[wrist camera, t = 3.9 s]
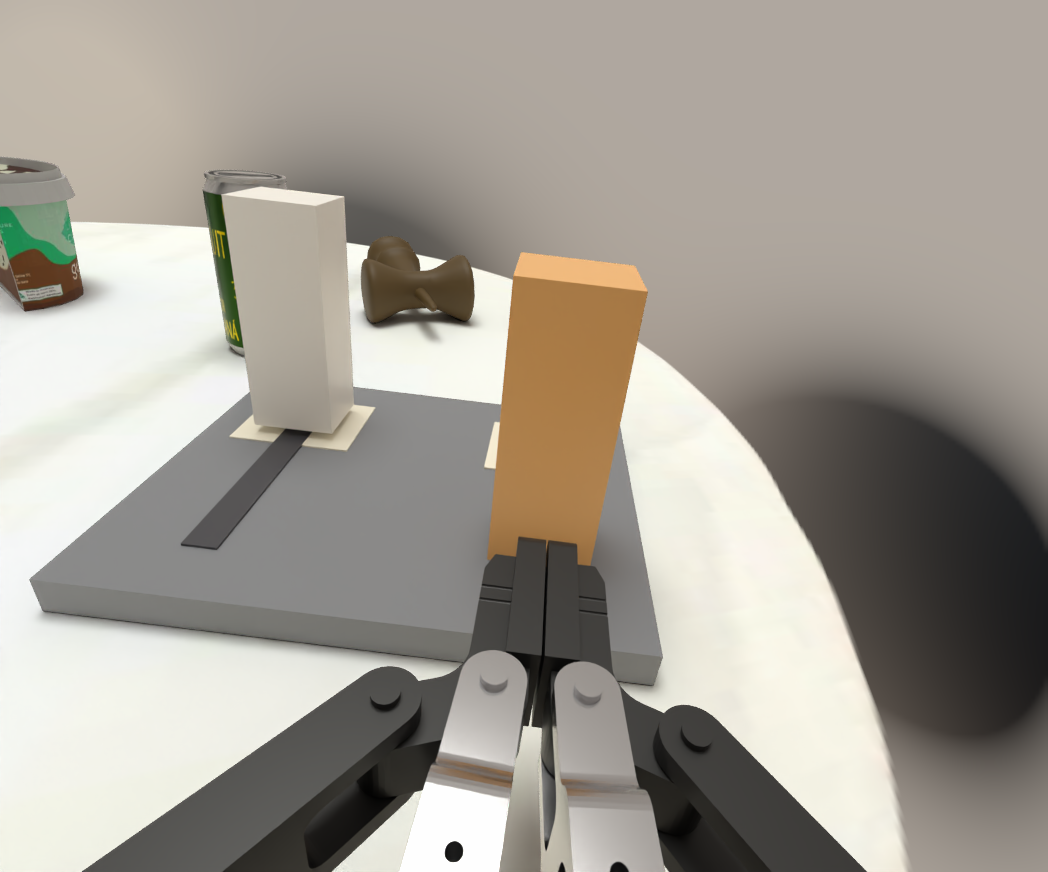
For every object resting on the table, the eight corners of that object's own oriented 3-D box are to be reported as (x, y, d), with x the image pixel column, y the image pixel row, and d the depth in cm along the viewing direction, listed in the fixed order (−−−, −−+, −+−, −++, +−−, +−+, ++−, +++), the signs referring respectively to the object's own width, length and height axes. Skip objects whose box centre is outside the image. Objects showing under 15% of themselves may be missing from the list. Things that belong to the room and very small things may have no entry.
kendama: (433, 284, 66) (488, 340, 50) (347, 287, 62) (376, 348, 46) (432, 230, 63) (491, 271, 47) (342, 229, 59) (372, 273, 43)
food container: (121, 305, 48) (89, 175, 43) (29, 316, 44) (-17, 174, 39) (75, 270, 55) (43, 155, 50) (-8, 278, 50) (-52, 153, 46)
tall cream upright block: (331, 433, 29) (315, 205, 24) (254, 424, 29) (221, 194, 24) (353, 404, 32) (343, 196, 27) (284, 396, 32) (260, 186, 27)
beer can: (294, 331, 47) (279, 171, 41) (312, 354, 43) (298, 182, 37) (222, 337, 44) (194, 167, 38) (234, 363, 40) (206, 178, 34)
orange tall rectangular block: (589, 571, 22) (647, 291, 17) (487, 559, 22) (513, 275, 17) (586, 517, 25) (635, 265, 20) (496, 506, 25) (521, 252, 20)
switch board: (653, 685, 20) (663, 654, 19) (42, 610, 20) (28, 576, 20) (614, 439, 36) (618, 417, 35) (270, 398, 36) (267, 375, 35)
